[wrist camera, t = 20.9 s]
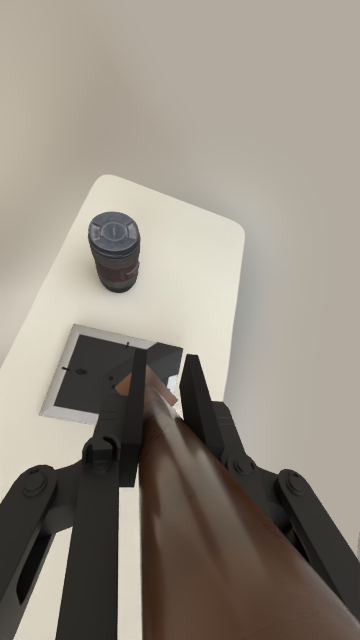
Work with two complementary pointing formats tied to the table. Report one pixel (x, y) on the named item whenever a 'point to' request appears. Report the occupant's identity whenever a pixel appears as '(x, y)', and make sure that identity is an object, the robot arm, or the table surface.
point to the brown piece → (217, 547)
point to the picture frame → (101, 371)
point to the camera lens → (115, 250)
